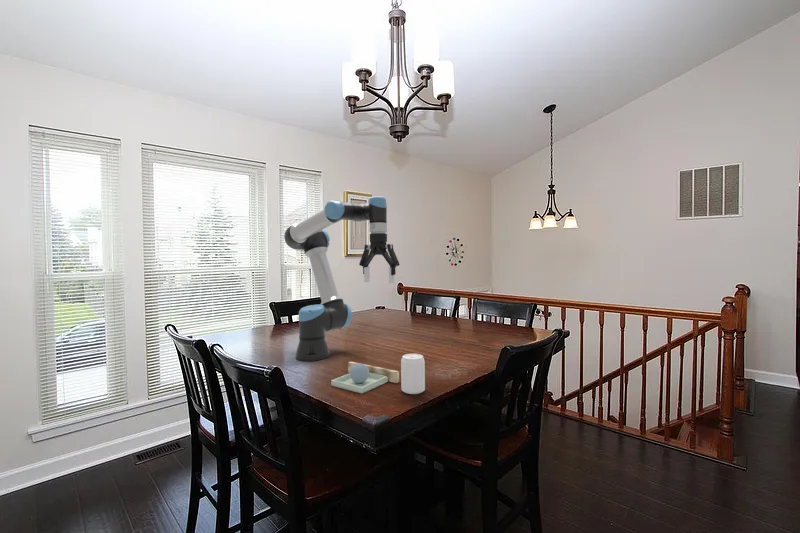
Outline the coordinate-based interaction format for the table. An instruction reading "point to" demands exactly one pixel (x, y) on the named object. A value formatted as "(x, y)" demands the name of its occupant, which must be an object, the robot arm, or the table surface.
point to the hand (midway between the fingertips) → (379, 282)
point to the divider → (380, 372)
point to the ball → (359, 373)
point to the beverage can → (412, 373)
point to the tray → (361, 388)
